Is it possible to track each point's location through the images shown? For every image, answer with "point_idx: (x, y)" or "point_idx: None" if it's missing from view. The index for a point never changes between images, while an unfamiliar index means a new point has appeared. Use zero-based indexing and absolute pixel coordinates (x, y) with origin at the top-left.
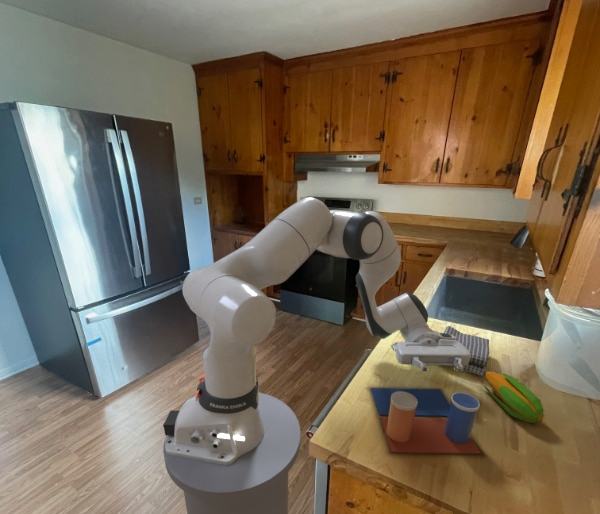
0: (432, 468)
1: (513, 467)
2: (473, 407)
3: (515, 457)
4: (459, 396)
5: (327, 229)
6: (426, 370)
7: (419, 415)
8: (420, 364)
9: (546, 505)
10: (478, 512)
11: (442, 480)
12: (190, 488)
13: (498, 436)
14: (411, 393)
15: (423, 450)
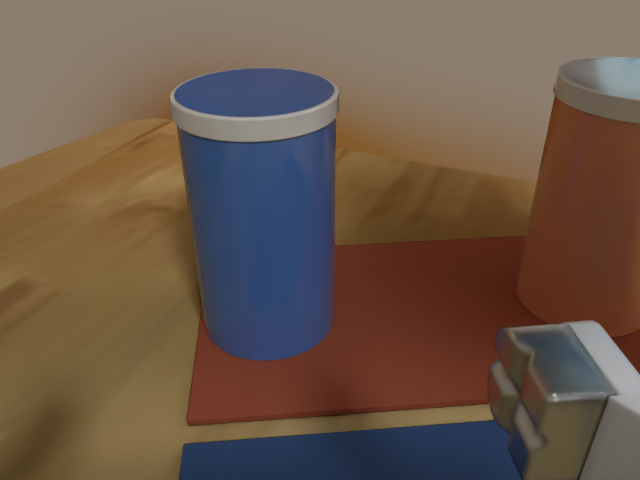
0: (425, 209)
1: (116, 229)
2: (238, 71)
3: (65, 257)
4: (277, 102)
5: None
6: (497, 372)
7: (463, 425)
8: (630, 386)
9: (126, 166)
10: None
11: (399, 188)
12: None
13: (31, 336)
14: None
15: (455, 243)
